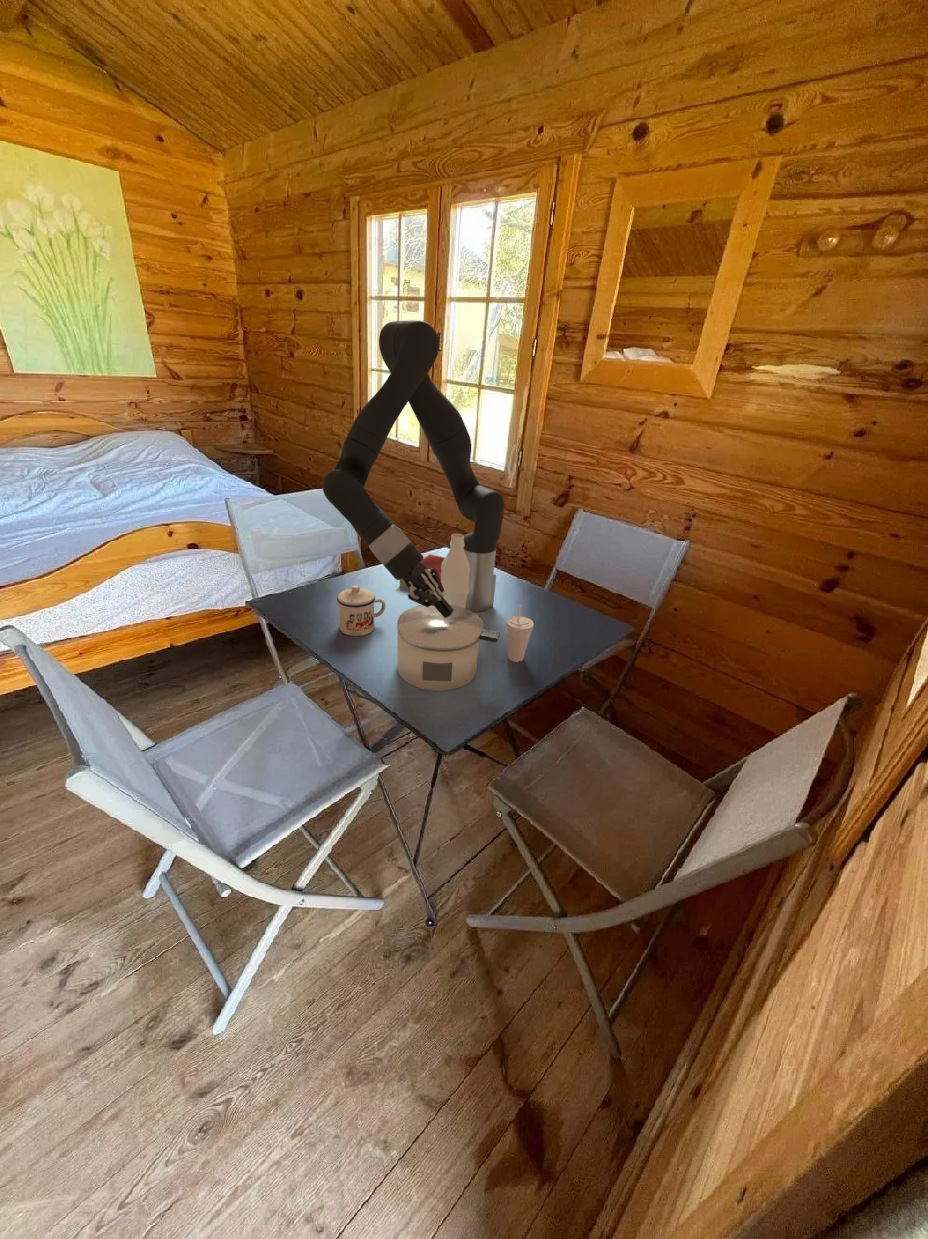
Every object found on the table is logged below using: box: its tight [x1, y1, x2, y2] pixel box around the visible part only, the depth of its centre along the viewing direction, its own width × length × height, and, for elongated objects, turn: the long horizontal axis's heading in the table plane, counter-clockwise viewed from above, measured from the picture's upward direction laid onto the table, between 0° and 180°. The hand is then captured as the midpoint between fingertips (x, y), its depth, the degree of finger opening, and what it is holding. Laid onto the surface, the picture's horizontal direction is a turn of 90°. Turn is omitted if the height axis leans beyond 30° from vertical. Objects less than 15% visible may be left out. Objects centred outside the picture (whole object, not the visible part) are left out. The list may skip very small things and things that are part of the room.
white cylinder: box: [396, 629, 480, 692], centre depth 115 cm, size 18×19×10 cm
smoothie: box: [505, 604, 535, 663], centre depth 120 cm, size 6×6×14 cm
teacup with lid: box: [336, 584, 386, 637], centre depth 128 cm, size 12×9×12 cm
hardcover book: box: [399, 553, 446, 590], centre depth 160 cm, size 12×21×4 cm, turn 157°
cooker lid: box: [396, 604, 501, 652], centre depth 112 cm, size 22×19×2 cm
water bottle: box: [441, 533, 470, 609], centre depth 128 cm, size 7×7×25 cm
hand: (449, 614), depth 110 cm, fingers closed
